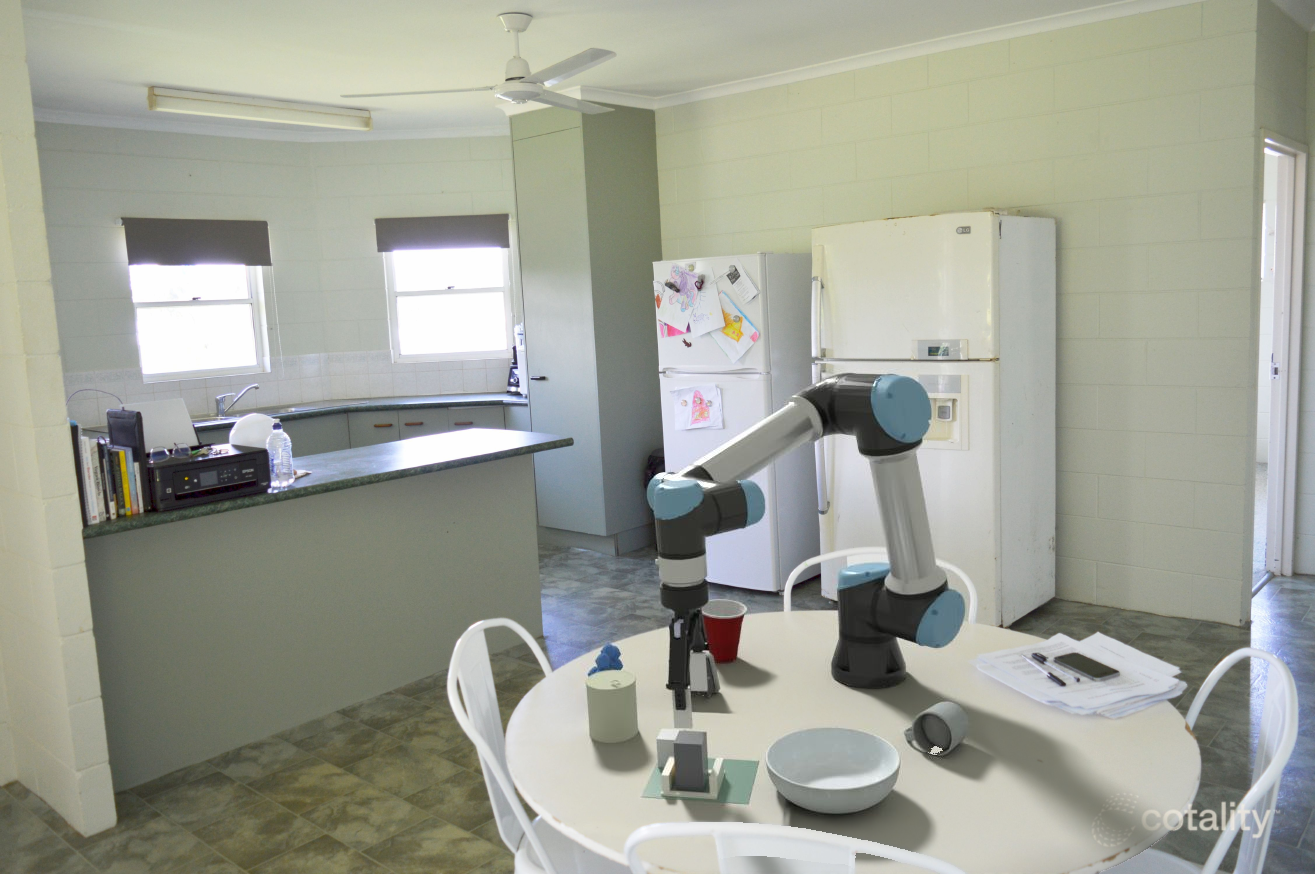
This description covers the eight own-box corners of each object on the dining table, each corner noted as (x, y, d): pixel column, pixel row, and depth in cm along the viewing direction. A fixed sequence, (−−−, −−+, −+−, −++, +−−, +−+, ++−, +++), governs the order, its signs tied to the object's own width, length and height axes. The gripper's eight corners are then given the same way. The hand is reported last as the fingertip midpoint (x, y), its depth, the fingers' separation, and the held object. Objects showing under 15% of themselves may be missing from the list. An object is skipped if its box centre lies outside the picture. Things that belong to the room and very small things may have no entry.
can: (601, 755, 171) (597, 691, 169) (581, 736, 179) (577, 674, 177) (648, 742, 175) (644, 679, 173) (626, 723, 183) (622, 663, 181)
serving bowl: (785, 757, 167) (784, 719, 166) (910, 774, 159) (909, 734, 158) (750, 818, 148) (748, 776, 147) (889, 842, 140) (888, 797, 139)
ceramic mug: (973, 743, 168) (972, 701, 167) (953, 761, 162) (952, 717, 161) (916, 729, 175) (915, 688, 174) (895, 746, 169) (894, 704, 168)
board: (759, 769, 163) (758, 743, 162) (748, 812, 149) (747, 785, 149) (660, 763, 167) (659, 738, 166) (641, 805, 153) (640, 778, 152)
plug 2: (708, 778, 158) (706, 731, 157) (703, 791, 153) (701, 744, 152) (679, 776, 159) (677, 730, 158) (674, 790, 154) (671, 742, 153)
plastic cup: (735, 671, 206) (732, 616, 204) (691, 663, 211) (688, 610, 210) (757, 653, 215) (755, 601, 213) (714, 646, 220) (712, 595, 219)
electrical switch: (721, 692, 195) (717, 649, 193) (708, 704, 191) (704, 660, 189) (681, 684, 200) (677, 642, 198) (668, 695, 196) (663, 653, 194)
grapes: (600, 690, 199) (596, 634, 197) (631, 693, 197) (627, 636, 195) (577, 714, 188) (573, 655, 186) (609, 717, 186) (606, 657, 184)
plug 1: (685, 757, 165) (684, 729, 164) (681, 768, 161) (679, 740, 161) (663, 755, 166) (661, 728, 165) (657, 766, 162) (656, 738, 162)
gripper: (676, 557, 164) (683, 675, 167) (641, 606, 140) (651, 743, 143) (719, 556, 162) (726, 676, 166) (692, 606, 138) (701, 745, 142)
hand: (691, 707), depth 154 cm, fingers open, 13 cm apart
